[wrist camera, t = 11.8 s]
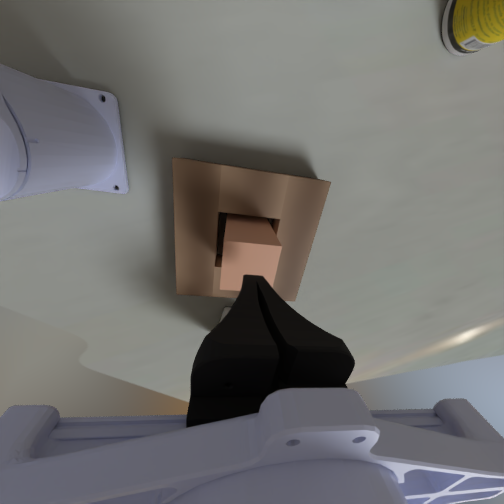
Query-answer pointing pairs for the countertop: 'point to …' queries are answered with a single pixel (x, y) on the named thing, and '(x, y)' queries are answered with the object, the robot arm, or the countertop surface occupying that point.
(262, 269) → the terracotta peg
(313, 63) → the countertop surface
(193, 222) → the walnut socket block
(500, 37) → the supplement bottle
